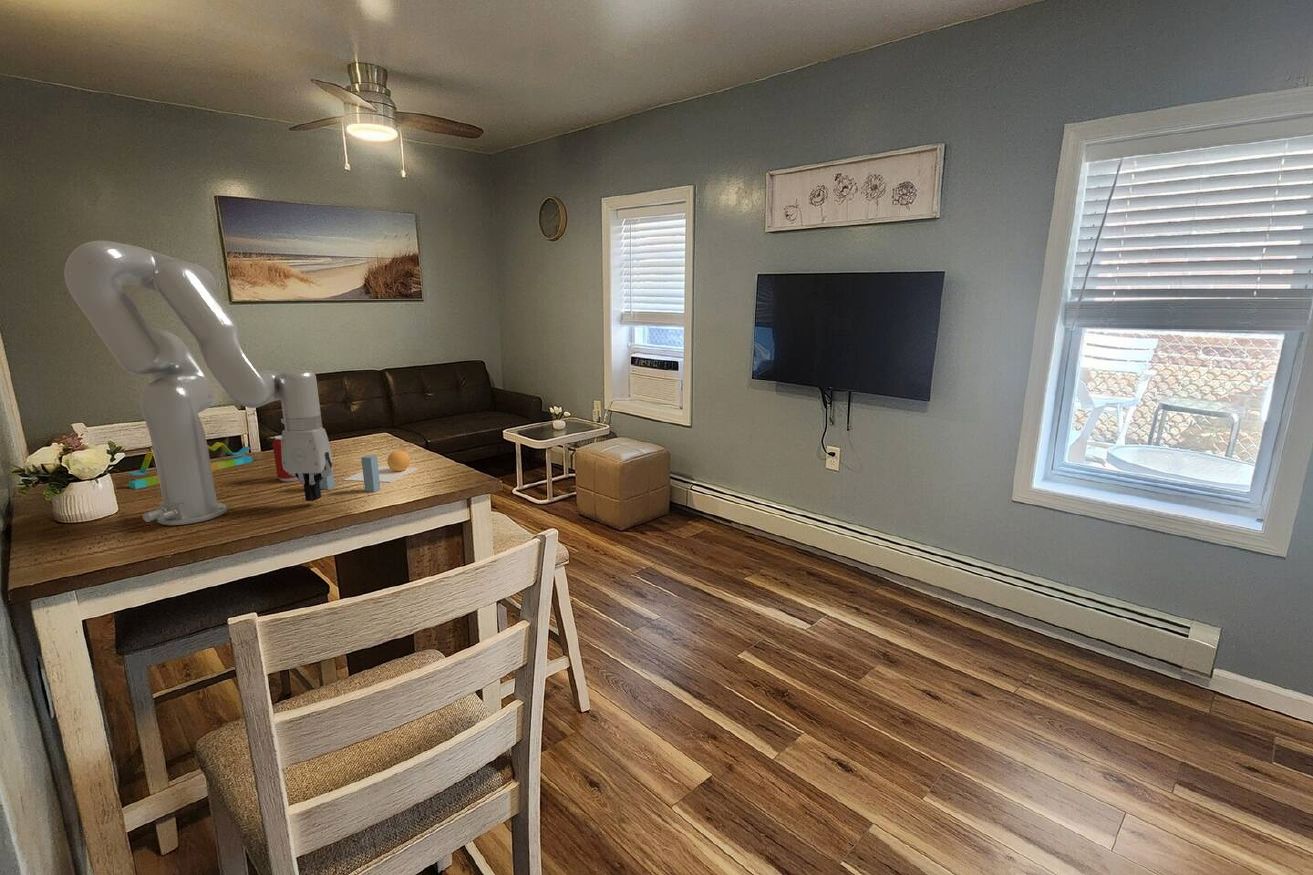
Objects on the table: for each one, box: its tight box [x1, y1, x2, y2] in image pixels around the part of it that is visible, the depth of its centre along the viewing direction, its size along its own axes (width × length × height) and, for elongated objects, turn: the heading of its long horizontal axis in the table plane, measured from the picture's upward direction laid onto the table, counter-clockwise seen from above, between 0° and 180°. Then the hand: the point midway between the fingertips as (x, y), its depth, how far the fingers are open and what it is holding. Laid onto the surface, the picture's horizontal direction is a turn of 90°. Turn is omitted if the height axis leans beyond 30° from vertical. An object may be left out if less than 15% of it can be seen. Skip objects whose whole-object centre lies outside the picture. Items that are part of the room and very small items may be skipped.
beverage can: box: [272, 434, 300, 482], centre depth 165 cm, size 6×6×12 cm
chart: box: [127, 441, 254, 490], centre depth 172 cm, size 30×3×15 cm, turn 156°
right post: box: [360, 454, 381, 493], centre depth 155 cm, size 3×3×9 cm
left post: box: [319, 467, 336, 491], centre depth 158 cm, size 3×3×9 cm
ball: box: [386, 450, 411, 471], centre depth 173 cm, size 6×6×6 cm
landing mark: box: [343, 465, 419, 483], centre depth 171 cm, size 14×14×1 cm
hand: (313, 499), depth 145 cm, fingers closed
